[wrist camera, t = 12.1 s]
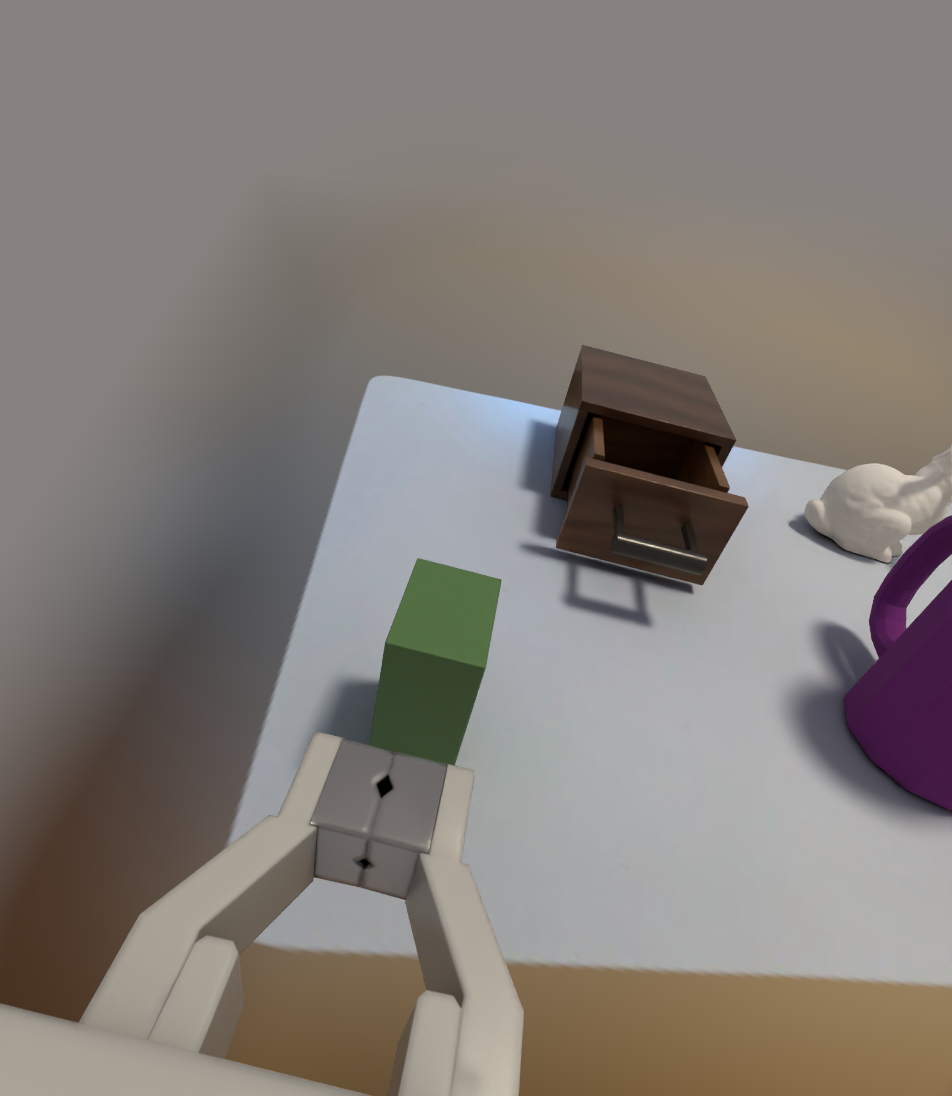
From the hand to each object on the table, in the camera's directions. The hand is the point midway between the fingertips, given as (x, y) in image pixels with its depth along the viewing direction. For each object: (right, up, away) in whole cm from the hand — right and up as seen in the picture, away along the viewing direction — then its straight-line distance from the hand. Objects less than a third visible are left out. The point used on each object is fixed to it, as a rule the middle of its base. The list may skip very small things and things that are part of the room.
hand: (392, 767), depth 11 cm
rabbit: (+39, +4, +46) cm, 60 cm away
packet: (-1, -5, +19) cm, 20 cm away
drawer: (+14, +5, +36) cm, 39 cm away
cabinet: (+15, +11, +46) cm, 50 cm away
